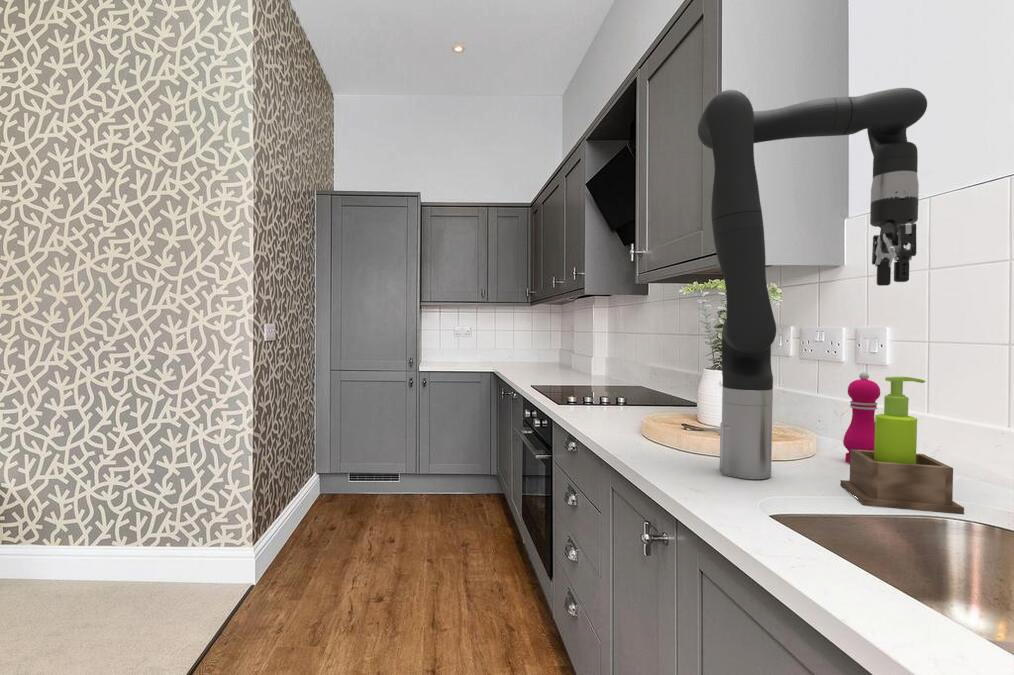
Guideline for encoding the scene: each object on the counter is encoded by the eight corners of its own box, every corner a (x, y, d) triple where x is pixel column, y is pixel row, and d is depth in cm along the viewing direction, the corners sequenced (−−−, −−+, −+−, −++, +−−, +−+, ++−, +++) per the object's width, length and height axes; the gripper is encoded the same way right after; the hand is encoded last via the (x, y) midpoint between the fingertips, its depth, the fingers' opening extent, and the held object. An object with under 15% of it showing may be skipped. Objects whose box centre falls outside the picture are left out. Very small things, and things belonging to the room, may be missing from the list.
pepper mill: (851, 466, 116) (853, 373, 116) (837, 458, 123) (839, 370, 123) (889, 468, 115) (891, 373, 115) (872, 460, 122) (874, 371, 122)
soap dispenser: (929, 499, 91) (932, 379, 90) (883, 496, 92) (886, 377, 92) (910, 489, 96) (913, 376, 96) (867, 486, 98) (870, 374, 97)
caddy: (863, 505, 90) (864, 462, 90) (840, 485, 102) (841, 448, 102) (963, 514, 86) (965, 469, 86) (928, 492, 98) (929, 453, 98)
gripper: (859, 208, 113) (857, 286, 113) (886, 191, 99) (884, 280, 99) (901, 206, 111) (899, 286, 111) (934, 189, 97) (932, 280, 97)
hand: (892, 283), depth 105 cm, fingers open, 8 cm apart
